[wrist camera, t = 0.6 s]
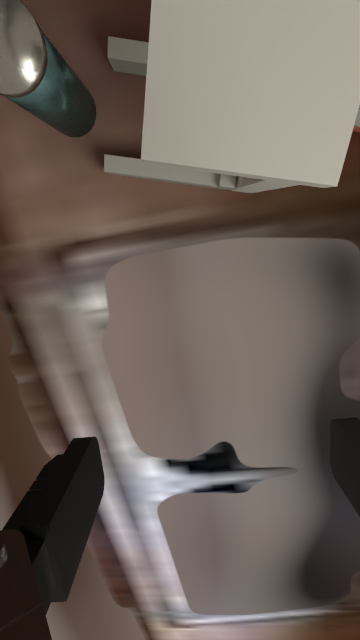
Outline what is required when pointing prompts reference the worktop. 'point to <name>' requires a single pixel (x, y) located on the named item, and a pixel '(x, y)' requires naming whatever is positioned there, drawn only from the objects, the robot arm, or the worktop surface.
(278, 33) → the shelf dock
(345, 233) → the worktop surface
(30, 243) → the worktop surface
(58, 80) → the canister
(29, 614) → the robot arm
